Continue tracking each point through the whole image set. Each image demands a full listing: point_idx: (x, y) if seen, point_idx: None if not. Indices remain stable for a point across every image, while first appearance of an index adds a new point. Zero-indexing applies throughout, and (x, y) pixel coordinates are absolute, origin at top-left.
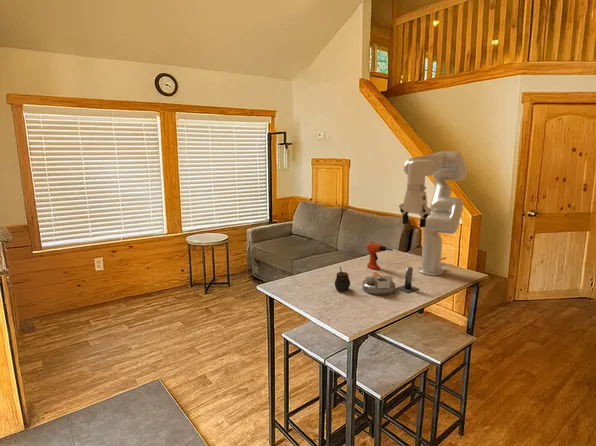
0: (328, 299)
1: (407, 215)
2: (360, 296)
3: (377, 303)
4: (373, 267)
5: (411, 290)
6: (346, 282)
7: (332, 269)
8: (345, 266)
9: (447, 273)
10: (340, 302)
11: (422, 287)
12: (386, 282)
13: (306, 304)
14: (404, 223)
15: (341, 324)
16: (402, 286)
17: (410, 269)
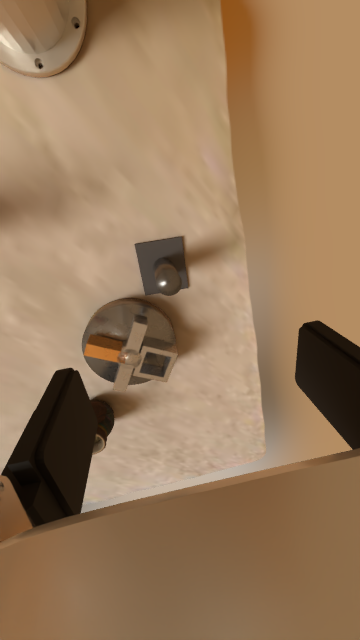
0: (137, 446)
1: (49, 475)
2: (151, 393)
3: (199, 380)
4: None
5: (181, 268)
6: (111, 425)
7: None
8: None
9: None
10: (161, 434)
11: (171, 212)
12: (174, 361)
13: (142, 478)
14: (94, 418)
15: (234, 457)
16: (143, 271)
17: (180, 287)
